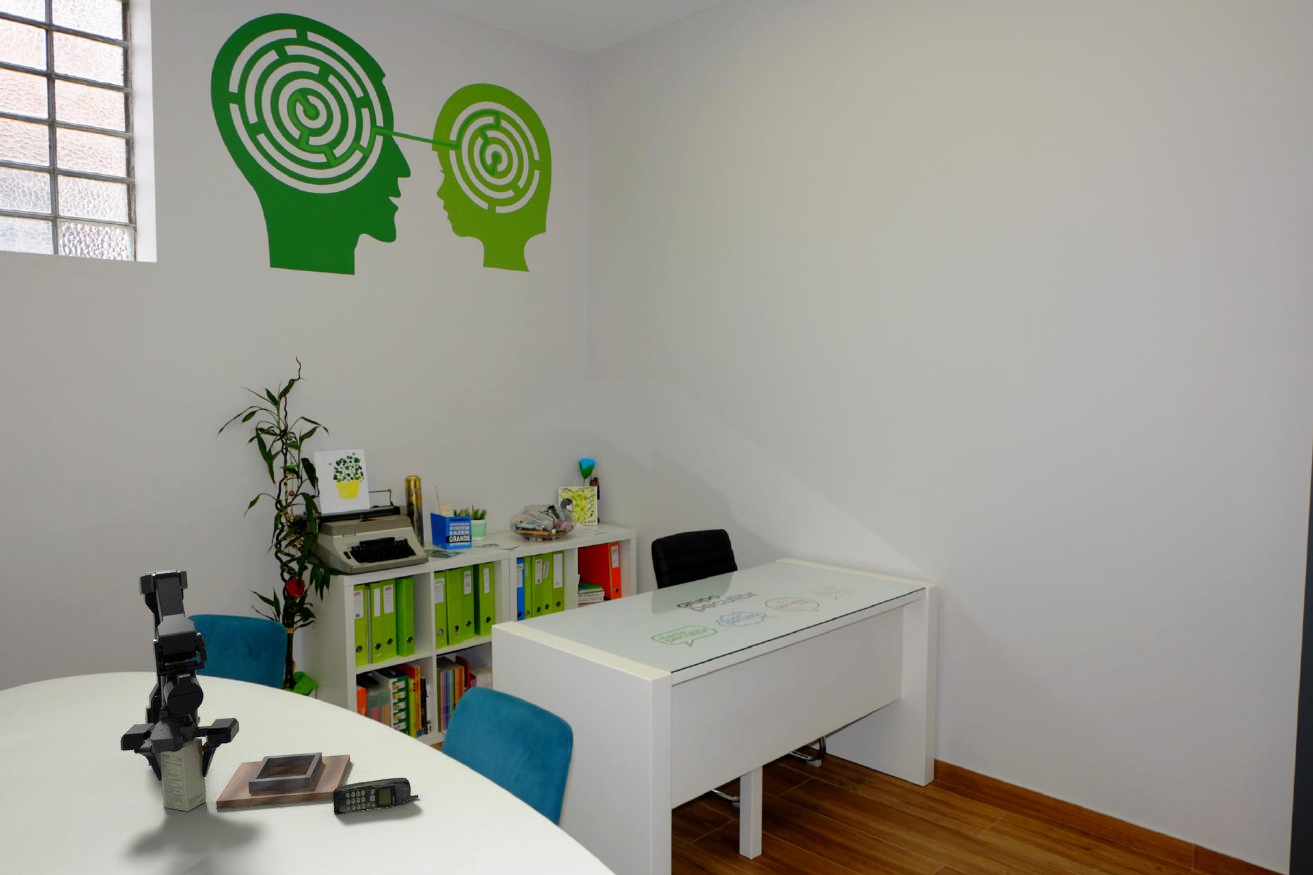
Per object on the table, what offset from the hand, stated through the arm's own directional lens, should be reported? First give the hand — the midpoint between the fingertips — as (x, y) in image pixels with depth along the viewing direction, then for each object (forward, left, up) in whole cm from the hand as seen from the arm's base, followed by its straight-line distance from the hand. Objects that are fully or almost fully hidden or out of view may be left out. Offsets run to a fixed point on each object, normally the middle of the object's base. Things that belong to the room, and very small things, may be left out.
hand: (183, 778), depth 161 cm
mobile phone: (+36, -7, -6) cm, 37 cm away
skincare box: (0, 0, -5) cm, 5 cm away
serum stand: (+17, +5, -5) cm, 18 cm away
